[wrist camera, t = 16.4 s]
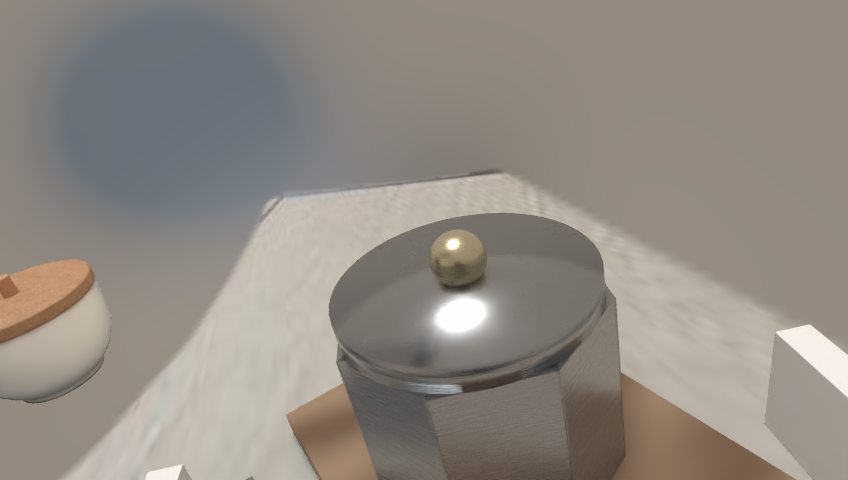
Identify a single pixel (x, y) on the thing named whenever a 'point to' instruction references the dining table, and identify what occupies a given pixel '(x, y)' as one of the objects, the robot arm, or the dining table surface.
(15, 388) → the lidded jar
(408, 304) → the silver lidded pot
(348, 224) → the dining table surface
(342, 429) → the serving board
